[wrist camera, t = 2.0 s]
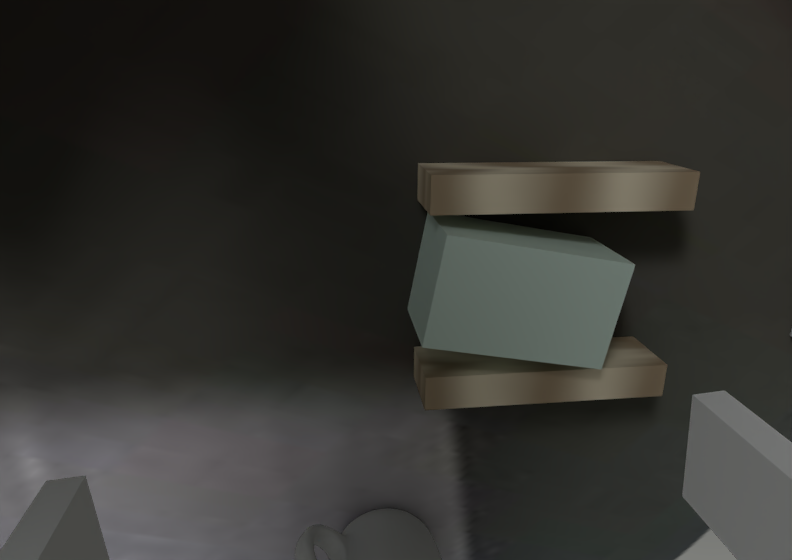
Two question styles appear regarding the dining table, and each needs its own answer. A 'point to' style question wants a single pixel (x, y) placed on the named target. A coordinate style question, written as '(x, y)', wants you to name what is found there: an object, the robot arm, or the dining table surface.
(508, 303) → the block
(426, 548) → the cup
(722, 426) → the robot arm
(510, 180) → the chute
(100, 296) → the dining table surface
